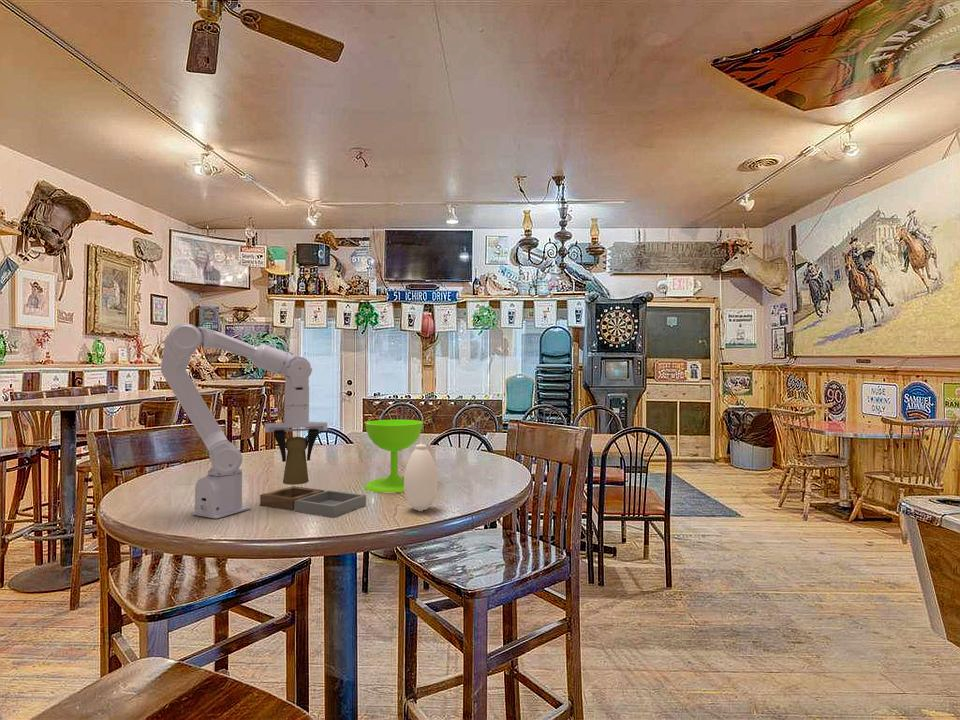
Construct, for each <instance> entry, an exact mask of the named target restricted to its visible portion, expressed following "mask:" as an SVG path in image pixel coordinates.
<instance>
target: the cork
mask: <svg viewBox="0 0 960 720" xmlns="http://www.w3.org/2000/svg"><path fill="white" fill-rule="evenodd" d="M307 449H308V439H307V438H305V437H303V436H293V437H288V438H287V439H285V450H286V451H287V452H286V461H285V465H284V473H283V478H282V483H283V484H284V485H291V486H294V485H305V484H307V483H309V481H310V480H309V473H308V465H307V464H308V463H307V456H306V455H307V453H306V450H307Z"/></svg>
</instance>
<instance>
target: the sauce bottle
mask: <svg viewBox="0 0 960 720" xmlns="http://www.w3.org/2000/svg"><path fill="white" fill-rule="evenodd" d="M419 437H420V438H419V440H420V441H419V444H418V443H417V444H416V445H415V449H414V450H413V452H412V453H411V455H410V456H409V458H408V461H407V464H406V467H405V469H404V470H405V471H404V477H403V478H404V497H405V499H406V501H407V503H408V505H409V506H410V507H412V508H413V510H415V511H417V510H418V511H417V512H424V511H423V510H428V509H429V506H432V505H433V503H434V501H435V499H436V498H437V494H438V489H439V477H438V475H439V474H438V470H437V467H436V463H435V461H434V457H433V456H432V454H431V452H430V451H429V449H428V446H427V444H423V435H422V433H420V436H419Z"/></svg>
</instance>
